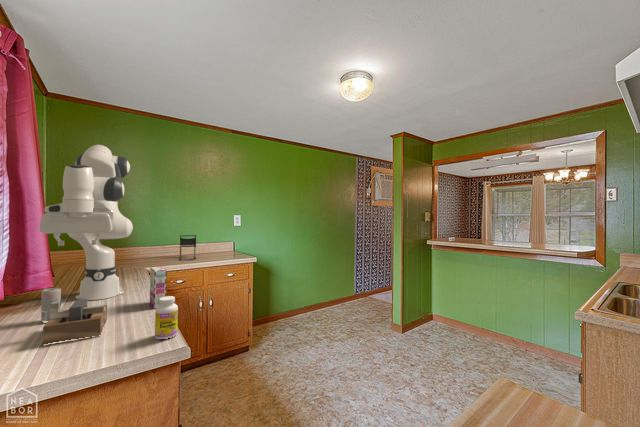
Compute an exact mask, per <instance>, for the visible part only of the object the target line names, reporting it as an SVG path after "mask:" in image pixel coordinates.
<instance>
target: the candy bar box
mask: <svg viewBox="0 0 640 427" xmlns="http://www.w3.org/2000/svg"><path fill="white" fill-rule="evenodd" d="M149 269H150V270H149V271H150V272H149V274H150V277H149V304H150V305H151V307H152V308H153V309H154V308H157V307H158V306H159V305H160V303H159V299H160V298H162V297H166V296H167V277H168V276H167V272H168V270H167V269H166V268H164V267H163V266H154V267H150V268H149Z"/></svg>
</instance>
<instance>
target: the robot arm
mask: <svg viewBox="0 0 640 427" xmlns="http://www.w3.org/2000/svg"><path fill="white" fill-rule="evenodd" d="M130 171H131V165H130V162H129V160H128V158H127V157H124V156H121V155H119V156H118V155H113V152H112V150H110V148H108V147H107V146H105V145H103V144H94V145H92V146H90V147H89V148H87V149H86V150H85V151H84V152H83V154H82V153H81V154H79V155H78V156H77V157H76V160H75V164H67V165H65V167H64V170H63V175H62V176H63V177H62V192H63V197H62V202H61V203H56V204H52V205H48V206H47V205H46V206H44V212H45V213H44V214H42V216H41V218H40V222H39V223H40V224H39V232H40V233H41V234H43V235H44V234H45V235H46V234H47V235H48V234H53V238H54V239H55V240H56V242H57V246H58V247H64V246H65V240H62V239H61V238H60V236H61V234H67V235H68V236H69V237H70V238H71V239H72V240H74V241H76V242H77V243H78V244H80V246H81V247H82V248H83V250H84V253H85V263H86V264H85V266H86V268H84V278H83V279H81V281H80V288H79V294H78V295H76V296H75V298H76V299H75V298H74V299H75V300H79V299H87V301H96V300H97V301H98V300H105V299H109V298H114V297H117V296H121V295H123V294H125V292H124V290H123V288H122V287H121V283H120V277H119V276H117V275H116V273H117V266H116V265H115V264H116V263H115V262H116V252H115V250H114V249H113V248H111V247H109V246H107V245H104V244H102V243H101V240H118V239H123V238H127V237H129V236H130V235H131V234H132V233H133V230H134V226H133V222H132V221H131V220H130V219H129V218H128V217H126V216H124V215H123V213H121V211H120V210H119V206H118V204H119V202H118V201H120V200H121V199H122V198H124V195H125V185H124V183H123V181H122V179H123V178H126V176H127V175H129V172H130Z"/></svg>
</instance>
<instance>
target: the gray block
mask: <svg viewBox="0 0 640 427" xmlns="http://www.w3.org/2000/svg"><path fill="white" fill-rule="evenodd" d="M85 307H88V300H87V299H75V301H74V302H73V303H72V304H71V305H70V307H68V309H69V322H71V321H78V320H84V319H87V314H86V315H82V311H83V309H84V308H85Z"/></svg>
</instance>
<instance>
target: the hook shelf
mask: <svg viewBox="0 0 640 427" xmlns="http://www.w3.org/2000/svg"><path fill="white" fill-rule="evenodd" d="M86 314H87V319H84V320H78V321H71V322H69V308H68V309H61V310H60V302H53V303H51V304H50V320H49V321H48V322H47V323H46V324H44V325H43V326H42V345H43V344H48V343H53V342H59V341H65V340H71V339H79V338H85V337H92V336H99V335H101V336H102V334H101V332H102V333H103V331H104V329H103V327H104V328H105V326H106V324H107V322H106V320H107V321H108V304H100V305H94V306H93V305H92V306H87V307H85V308H84V309H83V311H82V315H86ZM105 323H106V324H105ZM104 325H105V326H104ZM102 330H103V331H102Z"/></svg>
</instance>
